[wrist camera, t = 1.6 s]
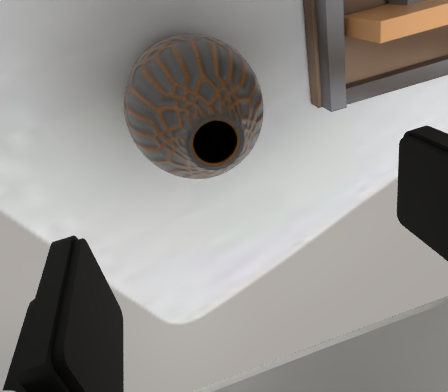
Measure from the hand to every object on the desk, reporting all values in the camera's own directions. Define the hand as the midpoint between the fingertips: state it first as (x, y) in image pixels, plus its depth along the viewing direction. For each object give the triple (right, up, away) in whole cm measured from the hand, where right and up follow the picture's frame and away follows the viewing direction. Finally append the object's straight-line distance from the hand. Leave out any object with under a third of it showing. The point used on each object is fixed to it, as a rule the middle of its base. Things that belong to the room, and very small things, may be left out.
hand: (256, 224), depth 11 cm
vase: (-3, +7, +12) cm, 14 cm away
